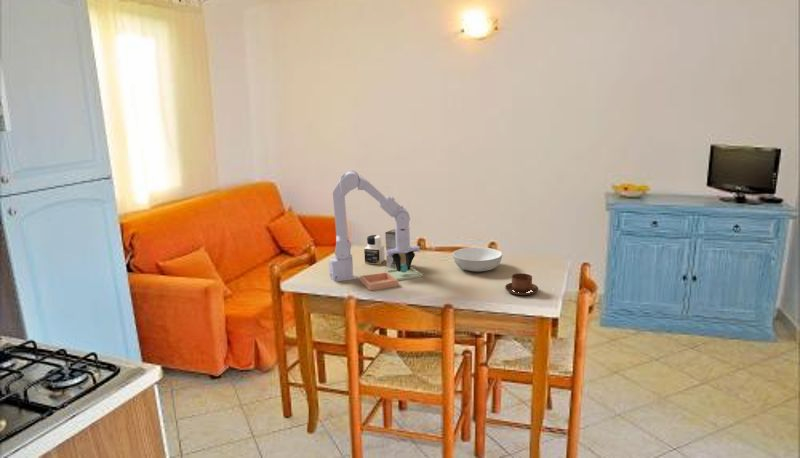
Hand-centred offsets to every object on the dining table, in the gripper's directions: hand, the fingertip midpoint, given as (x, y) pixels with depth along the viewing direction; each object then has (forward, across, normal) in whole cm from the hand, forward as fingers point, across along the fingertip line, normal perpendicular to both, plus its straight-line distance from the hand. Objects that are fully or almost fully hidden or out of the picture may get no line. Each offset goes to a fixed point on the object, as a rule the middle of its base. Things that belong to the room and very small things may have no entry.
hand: (403, 270), depth 227 cm
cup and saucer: (+3, +33, -37) cm, 49 cm away
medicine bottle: (+3, -4, +24) cm, 24 cm away
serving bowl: (+3, +32, -5) cm, 33 cm away
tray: (+2, 0, 0) cm, 2 cm away
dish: (+2, -13, -6) cm, 15 cm away
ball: (+1, 0, 0) cm, 1 cm away
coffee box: (+3, +3, +13) cm, 14 cm away
